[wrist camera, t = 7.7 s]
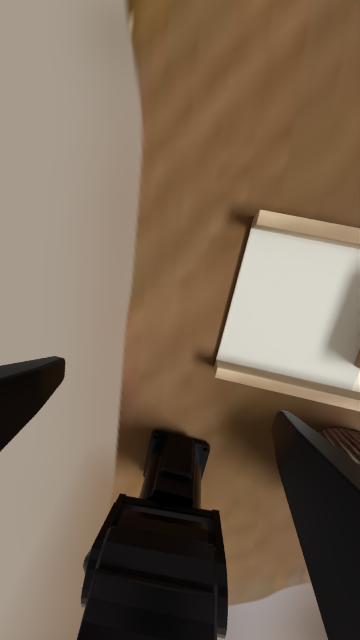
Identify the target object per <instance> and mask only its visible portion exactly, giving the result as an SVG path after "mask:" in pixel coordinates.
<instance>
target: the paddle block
mask: <svg viewBox="0 0 360 640" xmlns="http://www.w3.org/2000/svg"><path fill="white" fill-rule="evenodd" d="M354 366H356V367H357V368H359V369H360V350H359V353H358V355H357V357H356V360H355V362H354Z"/></svg>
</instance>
